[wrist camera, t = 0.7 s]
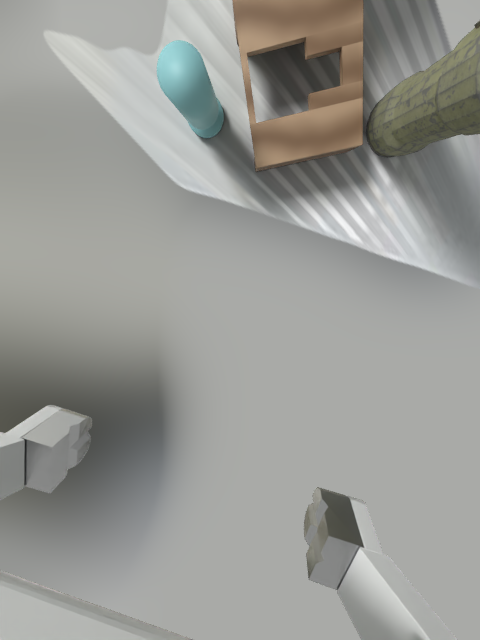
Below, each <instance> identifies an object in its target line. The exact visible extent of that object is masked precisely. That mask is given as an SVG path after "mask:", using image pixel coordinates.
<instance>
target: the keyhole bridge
mask: <svg viewBox="0 0 480 640" xmlns="http://www.w3.org/2000/svg"><path fill="white" fill-rule="evenodd" d="M233 10H234V21H235V31H236V38H237V45H238V44H239V50H240V57H241V64H242V71H243V78H244V85H245V92H246V100H247V107H248V114H249V121H250V128H251V135H252V142H253V149H254V156H255V157H254V163H255V170H256V172H258V171H262V170H267V169H272V168H276V167H281V166H285V165H290V164H294V163H299V162H304V161H308V160H313V159H317V158H322V157H327V156H331V155H336V154H340V153H345V152H348V151H350V150H352V149H354V148H356V147H359V146H361V145H363V0H233ZM302 42H304V47H305V60H308V59H312V58H316V57H320V56H324V55H328V54H331V53H335V52H339V60H340V86H338V87H334V88H330V89H326V90H322V91H318V92H314V93H309V95H308V109H309V111H305V112H301V113H297V114H292V115H288V116H284V117H280V118H276V119H272V120H267V121H263V122H259V123H256V119H255V112H254V104H253V97H252V89H251V82H250V74H249V67H248V59H247V57H250V56H253V55H257V54H261V53H265V52H268V51H272V50H276V49H280V48H283V47H287V46H291V45H294V44H298V43H302Z"/></svg>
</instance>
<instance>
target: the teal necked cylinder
mask: <svg viewBox="0 0 480 640" xmlns="http://www.w3.org/2000/svg"><path fill="white" fill-rule="evenodd" d="M157 76H158V81H159V84H160V87H161V89H162V90H163V92H164V93H165V95H166V96H167V97H168V98H169V100H170V101H171V102H172V103H173V104H174V105H175V107H176V108H177V109H178V110H179V111H180V113H181V114H182V115H183V116H184V117H185V118H186V120H187V121H188V123H189V125H190V127H191V129H192V130H193V131H194V132H195V133H196V134H197V135H198V136H200V137H202V138H212V137H214V136H215V135H217V134H218V133H219V131H220V130H221V128H222V125H223V121H224V114H223V110H222V107H221V104H220V102H219V100H218V99H217V98H216V96H215V93H214V90H213V87H212V84H211V82H210V79H209V76H208V73H207V70H206V68H205V65H204V62H203V59H202V57H201V55H200V53H199V52H198V51H197V49H196V48H195V47H194V46H193V45H191V44H190V43H188V42H185V41H180V40H178V41H173V42H171V43H169V44H168V45H166V46H165V47H164V49H163V50H162V52H161V54H160V56H159V59H158V63H157Z"/></svg>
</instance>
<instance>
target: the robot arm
mask: <svg viewBox="0 0 480 640" xmlns="http://www.w3.org/2000/svg"><path fill="white" fill-rule="evenodd" d="M91 427H92V419H91V418H90V417H88V416H85V415H82V414H79V413H76V412H73V411H70V410H67V409H63V408H60V407H57V406H54V405H49V406H46V407H44V408H43V409H41V410H40V411H38V412H37V413H35V414H34V415H32V416H31V417H29V418H28V419H26V420H25V421H24V422H22V423H21V424H19V425H17V426H16V427H14V428H13V429H11V430H10V431H8V432H7V433H2V432H0V500H1V499H3V498H5V497H7V496H9V495H11V494H13V493H15V492H17V491H19V490H21V489H22V488H24V486H27V487H30V488H34V489H37V490H40V491H43V492H47V493H51V492H52V491H53V490H54V489H55V488H56V486H57V485H58V484H59V483H60V482H61V481H62V480H63V479H64V478H65V477H66V475H67V469H69V468H71V467H74V466H76V465H77V464H78V463H79V462H80V461H81V460H82V459H83V457H84V455H85V454H86V452H87V450H88V447H89V445H90V439H91V437H90V435H89V433H88V430H89V429H90V428H91ZM313 502H314V503H312V504H311V505H309V506H308V508H307V511H306V514H305V520H304V537H305V540H306V542H307V544H308V545H309V549H308V551H307V553H306V557H307V567H308V578H309V580H311V581H314V582H316V583H319V584H322V585H325V586H327V587H330V588H333V589H335V590H338V591H337V593H338V595H339V597H340V599H341V601H342V603H343V605H344V607H345V609H346V611H347V613H348V615H349V617H350V619H351V621H352V622H353V624H354V626H355V628H356V630H357V632H358V634H359V636H360V638H361V640H457V639H456V637H455V636H454V635H453V634H452V632H451V631H450V630H449V629H448V628H447V626H446V625H445V624H444V623H443V622H442V620H441V619H440V618H439V617H438V615H437V614H436V613H435V612H434V611H433V609H432V608H431V607H430V606H429V605H428V603H427V602H426V601H425V600H424V599H423V597H422V596H421V595H420V594H419V592H418V591H417V590H416V589H415V588H414V586H413V585H412V584H411V583H410V582H409V581H408V579H407V578H406V577H405V575H404V574H403V573H402V572H401V571H400V569H399V568H398V567H397V566H396V565H395V563H394V562H393V561H392V560H391V558H390V557H389V556H387V555H384V554H383V551H382V549H381V546H380V543H379V540H378V538H377V535H376V532H375V529H374V526H373V524H372V521H371V518H370V515H369V512H368V510H367V507H366V504H365V502H364V501H363V500H360V499H357V498H353V497H349V496H345V495H343V494H339V493H336V492H332V491H329V490H326V489H322V488H319V487H317V488H316V489H315V491H314V493H313ZM0 640H192V639H190V638H187V637H184V636H181V635H179V634H176V633H173V632H170V631H168V630H164V629H162V628H159V627H157V626H154V625H151V624H148V623H145V622H143V621H140V620H137V619H134V618H132V617H128V616H126V615H123V614H120V613H118V612H115V611H112V610H109V609H106V608H104V607H101V606H98V605H95V604H93V603H90V602H87V601H84V600H81V599H78V598H76V597H73V596H70V595H67V594H65V593H62V592H59V591H56V590H53V589H51V588H48V587H45V586H42V585H40V584H37V583H34V582H31V581H29V580H25V579H23V578H20V577H17V576H14V575H12V574H9V573H6V572H4V571H1V570H0Z"/></svg>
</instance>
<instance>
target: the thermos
mask: <svg viewBox="0 0 480 640" xmlns="http://www.w3.org/2000/svg"><path fill="white" fill-rule="evenodd" d="M460 134H463V135H473V134H480V21H479V22H478V23H476V24H475V28H474V29H473V30H472V31H471V32H470V33H469V34H467V35H466V36H465V37H464V38H463V39H462V40H461V41H460V42H459V43H458V45H457V46H456V48H455V49H454V50H453V51H451V52H450V53H449V54H447V55H446V56H444V57H443V58H442V59H440V60H439V61H438V62H436V63H435V64H433V65H432V66H431V67H429V68H428V69H426V70H425V71H419V72H418V73H416V74H414V75H412V76H411V77H409V78H407V79H405V80H404V81H402V82H401V83H400V84H398V85H397V86H396V87H394V88H393V89H392V90H391V91H390V92H389V93H388V94H387V95H386V96H384V98H382V99H381V100H380V101H379V102H378V103H377V104H376V106H375V107H374V109H373V110H372V112H371V114H370V117H369V119H368V122H367V130H366V135H367V140H368V144H369V145H370V147H371V149H372V150H373V151H374V152H375V153H376V154H378V155H380V156H383V157H394V156H401V155H406V154H410V153H413V152H417V151H419V150H421V149H423V148H424V147H426V146H427V145H428V144H429V143H433V142H436V141H440V140H443V139H446V138H450V137H453V136H456V135H460Z"/></svg>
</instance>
